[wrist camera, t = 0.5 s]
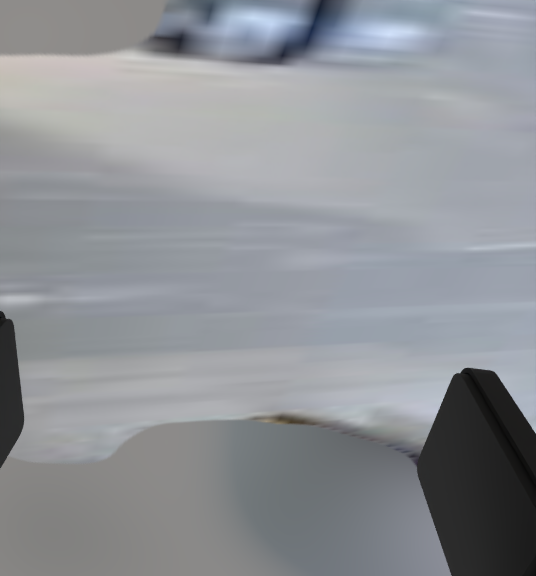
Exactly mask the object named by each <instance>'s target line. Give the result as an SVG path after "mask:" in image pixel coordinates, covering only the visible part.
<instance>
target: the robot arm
mask: <svg viewBox="0 0 536 576" xmlns="http://www.w3.org/2000/svg"><path fill="white" fill-rule="evenodd" d="M23 425H24V412H23V403H22V394H21V385H20V376H19V368H18V359H17V350H16V341H15V332H14V325H13V322H12V320H10V319H6V318H5V315H4V313H3V312H1V311H0V468H1V466H2V465H3V463H4V461H5V460H6V458H7V456H8V455H9V453H10V451H11V450H12V448H13V446H14V445H15V443H16V441H17V439H18V438H19V436H20V434H21V432H22V429H23ZM417 472H418V477H419V480H420V483H421V486H422V489H423V492H424V495H425V498H426V501H427V504H428V507H429V510H430V513H431V516H432V519H433V522H434V525H435V528H436V531H437V534H438V536H439V540H440V543H441V546H442V549H443V551H444V554H445V557H446V560H447V563H448V566H449V569H450V572H451V575H452V576H536V433H535V432H534V430H533V429H532V427H531V426H530V424H529V423H528V421H527V420H526V418H525V417H524V415H523V414H522V412H521V411H520V409H519V408H518V406H517V405H516V403H515V402H514V400H513V399H512V397H511V395H510V394H509V392H508V391H507V389H506V388H505V386H504V385H503V383H502V382H501V380H500V379H499V377H498V376H497V374H496V373H495V372H493V371H490V370H482V369H474V368H464V369H463V370H462V371H461V373H457V374H455V375H454V376H453V378H452V380H451V382H450V385H449V387H448V389H447V392H446V394H445V397H444V399H443V401H442V404H441V406H440V409H439V411H438V413H437V416H436V418H435V421H434V423H433V426H432V428H431V430H430V433H429V435H428V438H427V440H426V442H425V445H424V447H423V450H422V452H421V454H420V457H419V460H418V464H417Z"/></svg>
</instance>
